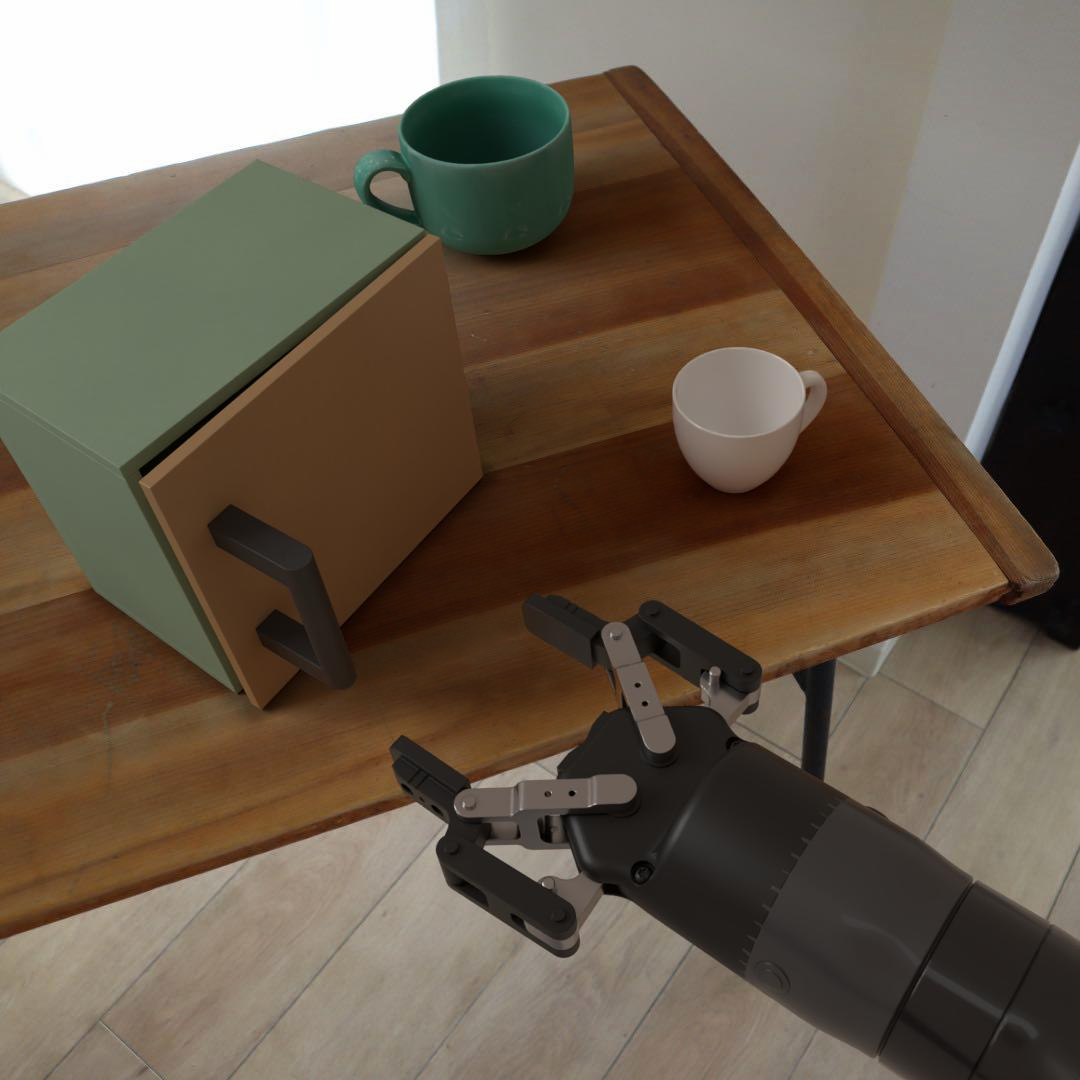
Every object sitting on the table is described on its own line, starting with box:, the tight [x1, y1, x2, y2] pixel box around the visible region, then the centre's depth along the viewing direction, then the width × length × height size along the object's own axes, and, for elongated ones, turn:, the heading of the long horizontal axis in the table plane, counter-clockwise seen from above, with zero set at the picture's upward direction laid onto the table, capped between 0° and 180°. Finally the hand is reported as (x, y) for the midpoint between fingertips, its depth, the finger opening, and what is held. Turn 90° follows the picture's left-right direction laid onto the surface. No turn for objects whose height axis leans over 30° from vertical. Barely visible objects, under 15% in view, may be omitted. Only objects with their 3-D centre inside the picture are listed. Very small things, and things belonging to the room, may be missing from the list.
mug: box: [353, 74, 575, 256], centre depth 89 cm, size 17×13×10 cm
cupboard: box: [0, 158, 427, 695], centre depth 67 cm, size 13×21×19 cm, turn 142°
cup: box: [671, 346, 828, 494], centre depth 72 cm, size 8×10×7 cm
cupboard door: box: [139, 233, 484, 711], centre depth 62 cm, size 7×21×18 cm, turn 145°
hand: (465, 677), depth 49 cm, fingers open, 8 cm apart
